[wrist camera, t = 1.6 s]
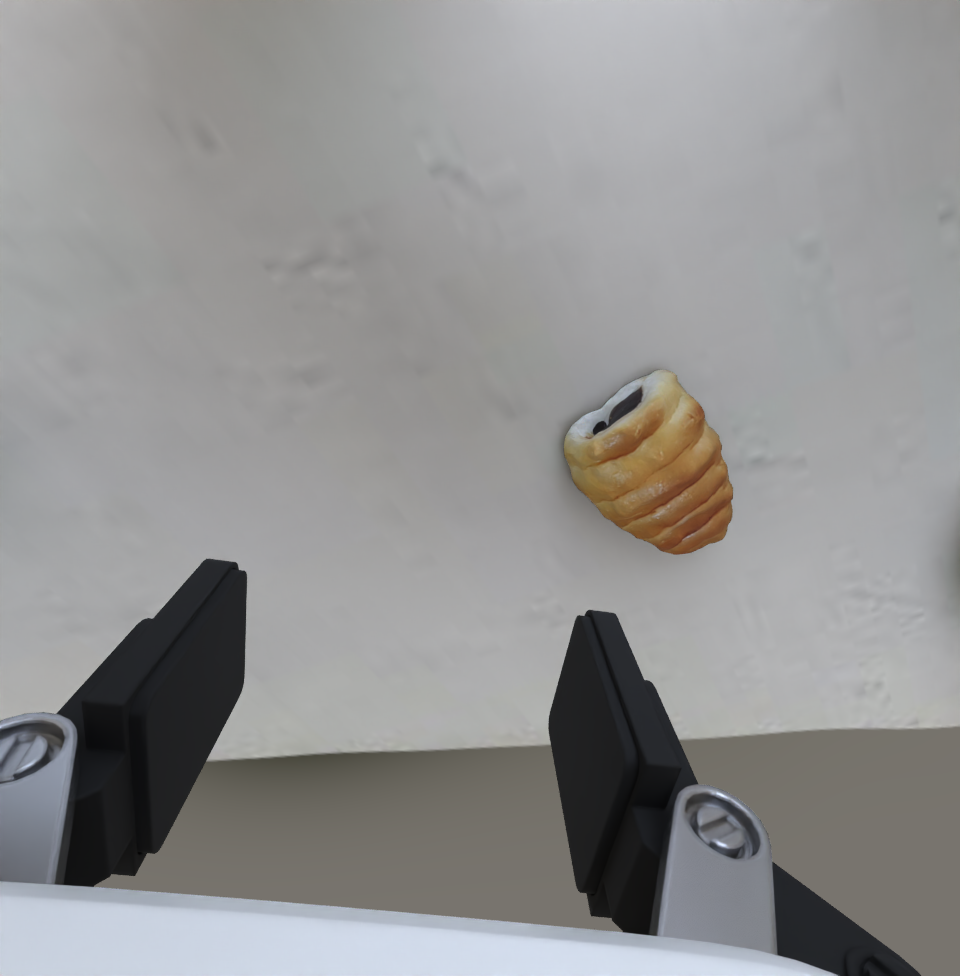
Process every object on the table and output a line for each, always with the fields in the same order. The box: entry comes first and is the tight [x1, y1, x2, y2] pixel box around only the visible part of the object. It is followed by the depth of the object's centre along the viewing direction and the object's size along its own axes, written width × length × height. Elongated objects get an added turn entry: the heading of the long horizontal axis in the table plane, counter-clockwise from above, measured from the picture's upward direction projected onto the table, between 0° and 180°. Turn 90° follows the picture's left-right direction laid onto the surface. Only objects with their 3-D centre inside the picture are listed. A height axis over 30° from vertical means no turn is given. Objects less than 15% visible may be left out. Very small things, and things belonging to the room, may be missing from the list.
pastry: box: [564, 370, 733, 555], centre depth 27 cm, size 9×7×4 cm
